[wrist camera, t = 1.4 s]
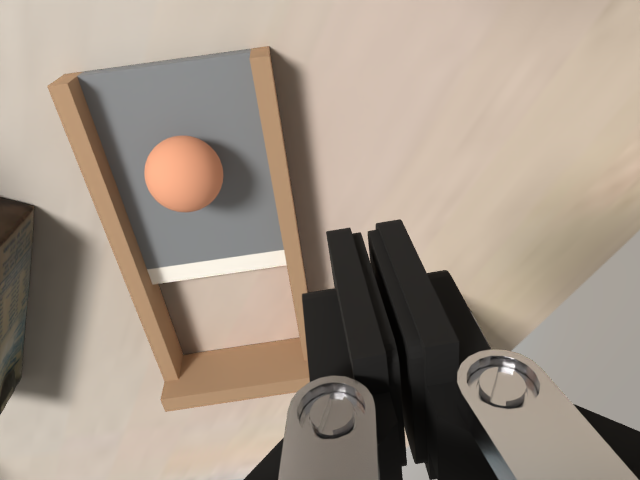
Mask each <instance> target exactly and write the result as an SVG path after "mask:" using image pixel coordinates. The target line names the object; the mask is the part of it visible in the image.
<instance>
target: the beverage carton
mask: <svg viewBox="0 0 640 480" xmlns="http://www.w3.org/2000/svg"><path fill="white" fill-rule="evenodd" d="M34 208H35V207H34V206H32V205H28V204H24V203H20V202H17V201H13V200H8V199H3V198H0V414H1V413H2V411H3V409H4V408H5V406H6V404H7V402H8V400H9V399H10V397H11V395H12V394H13V392H14V390H15V387H16V386H17V384H18V383H19V381H20V379H21V372H22V359H23V347H24V338H25V324H26V312H27V302H28V292H29V279H30V268H31V253H32V238H33V225H34V224H33V215H34Z"/></svg>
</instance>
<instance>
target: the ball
mask: <svg viewBox="0 0 640 480" xmlns="http://www.w3.org/2000/svg"><path fill="white" fill-rule="evenodd" d="M144 175H145V182H146V185H147V187H148V190H149V192H150V193H151V195H152V196H153V197H154V198H155V200H156V201H157V202H159V203H160V204H161V205H163V206H164V207H166V208H168V209H170V210H173V211H177V212H193V211H197V210H200V209H202V208H204V207H206V206H207V205H209V204H210V203H211V202H212V201H213V200H214V199H215V198H216V197H217V195H218V193H219V192H220V189H221V187H222V183H223V167H222V164H221V161H220V159H219V157H218V155H217V153H216V152H215V151H214V150H213V149H212V148H211V147H210V146H209V145H208V144H207V143H205V142H204V141H202V140H200V139H198V138H195V137H192V136H174V137H170V138H167V139H165V140H163V141H162V142H160V143H159V144H157V145H156V146H155V147H154V148H153V150H152V151H151V152H150V154H149V156H148V158H147V161H146V164H145V171H144Z"/></svg>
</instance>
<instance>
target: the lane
mask: <svg viewBox="0 0 640 480" xmlns="http://www.w3.org/2000/svg"><path fill="white" fill-rule="evenodd" d="M47 87H48V89H49V92H50V94H51V97H52V99H53V102H54V104H55V107H56V109H57V112H58V114H59V117H60V119H61V122H62V125H63V127H64V130H65V132H66V135H67V137H68V140H69V142H70V145H71V147H72V150H73V152H74V155H75V157H76V160H77V162H78V165H79V167H80V170H81V172H82V175H83V177H84V180H85V182H86V185H87V187H88V190H89V192H90V195H91V197H92V200H93V202H94V205H95V208H96V210H97V213H98V215H99V218H100V220H101V223H102V225H103V228H104V230H105V233H106V235H107V238H108V240H109V243H110V245H111V248H112V250H113V253H114V255H115V258H116V260H117V263H118V265H119V268H120V270H121V273H122V275H123V278H124V280H125V283H126V285H127V288H128V291H129V293H130V296H131V298H132V301H133V303H134V306H135V308H136V311H137V313H138V316H139V318H140V321H141V323H142V326H143V328H144V331H145V333H146V336H147V338H148V341H149V343H150V346H151V348H152V351H153V353H154V356H155V358H156V361H157V363H158V366H159V368H160V371H161V374H162V376H163V379H164V381H165V382H164V387H163V391H162V396H161V402H162V405H163V407H164V409H165V412H167V411H174V410H180V409H187V408H194V407H200V406H207V405H214V404H220V403H227V402H234V401H241V400H247V399H254V398H261V397H267V396H274V395H281V394H287V393H294V392H298V390H300V389H301V388H302V387H304V386H305V385H306V384H307V383H309V382H310V379H309V369H308V358H307V347H306V336H305V326H304V315H303V304H302V294H303V293H308V289H307V283H306V276H305V270H304V264H303V257H302V251H301V245H300V238H299V232H298V226H297V219H296V213H295V207H294V201H293V194H292V188H291V182H290V175H289V169H288V163H287V156H286V150H285V144H284V137H283V131H282V125H281V118H280V112H279V106H278V99H277V93H276V87H275V80H274V74H273V68H272V61H271V55H270V49H269V46H267V47H260V48H253V49H246V50H238V51H231V52H224V53H216V54H209V55H202V56H194V57H187V58H180V59H172V60H165V61H158V62H150V63H143V64H136V65H129V66H121V67H114V68H107V69H99V70H92V71H85V72H77V73H70V74H64V75H63V76H61V77H60V78H58V79H57V80H56V81H54V82H53V83H51V84H50V85H48V86H47ZM174 136H192V137H195V138H198V139H200V140H202V141H204V142H205V143H207V144H208V145H209V146H210V147H211V148H212V149H213V150H214V151H215V152H216V153H217V155H218V157H219V159H220V161H221V164H222V167H223V183H222V187H221V189H220V192H219V193H218V195H217V197H216V198H215V199H214V200H213V201H212V202H211V203H210V204H209V205H207V206H206V207H204V208H202V209H200V210H197V211H193V212H177V211H173V210H170V209H168V208H166V207H164V206H163V205H161V204H160V203H159V202H157V201H156V200H155V198H154V197H153V196H152V195H151V193H150V192H149V190H148V187H147V185H146V182H145V175H144V171H145V164H146V161H147V158H148V156H149V154H150V152H151V151H152V150H153V148H154V147H155V146H156V145H157V144H159V143H160V142H162V141H163V140H165V139H167V138H170V137H174ZM285 265H287V269H288V275H289V280H290V286H291V291H292V297H293V303H294V308H295V314H296V319H297V325H298V330H299V336H300V338H294V339H287V340H280V341H274V342H267V343H260V344H253V345H246V346H240V347H233V348H226V349H219V350H213V351H206V352H199V353H192V354H185V355H183V352H182V350H181V347H180V344H179V341H178V338H177V335H176V333H175V330H174V327H173V324H172V321H171V319H170V316H169V313H168V310H167V307H166V304H165V302H164V299H163V296H162V293H161V290H160V288H159V285H158V284H161V283H168V282H174V281H181V280H188V279H195V278H202V277H209V276H216V275H223V274H230V273H237V272H244V271H251V270H257V269H264V268H271V267H278V266H285Z"/></svg>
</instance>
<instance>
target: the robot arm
mask: <svg viewBox="0 0 640 480" xmlns="http://www.w3.org/2000/svg"><path fill="white" fill-rule="evenodd" d="M326 234H327V241H328V247H329V254H330V260H331V267H332V273H333V280H334V287H335V288H334V289H328V290H322V291H316V292H309V293H303V294H302V304H303V315H304V326H305V336H306V347H307V358H308V369H309V379H310V382H309V383H307V384H306V385H305V386H304V387H302V388H301V389H300V390H298V392H297V393H296V394H295V396H294V397H293V398H292V400H291V403H290V406H289V409H288V413H287V420H286V427H285V434H284V438H283V439H282V440H281V441H280V442H279V443H278V444H277V445H276V446H275V447H274V448H273V449H272V450H271V451H270V453H269V454H268V455H267V456H266V457H265V458H264V459H263V460H262V461H261V462H260V463H259V464H258V465H257V466H256V467H255V468H254V469H253V470H252V471H251V473H250V474H249V475H248V476H247V477H246V478H245V479H244V480H403V478H402V467H401V466H406V465H407V459H406V446H405V432H404V427H405V431H406V435H407V438H408V442H409V445H410V449H411V452H412V456H413V459H414V462H415V464H418V463H425V465H426V468H427V472H428V475H429V479H430V480H432V479H438V480H640V432H639V431H637V430H634V429H632V428H630V427H627V426H625V425H623V424H620V423H618V422H615V421H613V420H610V419H608V418H606V417H603V416H601V415H599V414H596V413H594V412H591V411H589V410H587V409H584V408H582V407H579V406H577V405H574V404H572V403H571V401H570V400H569V399H568V398H567V397H566V396H565V394H564V393H563V392H562V391H561V390H560V389H559V388H558V386H557V385H556V384H555V383H554V382H553V381H552V380H551V379H550V377H549V376H548V375H547V374H546V373H545V371H544V370H543V369H542V368H541V367H539V366H538V365H537V364H536V363H535V362H534V361H533V360H531V359H529V358H527V357H525V356H523V355H521V354H519V353H515V352H512V351H508V350H497V349H491V348H490V346H489V344H488V343H487V341H486V339H485V337H484V335H483V333H482V332H481V330H480V328H479V326H478V324H477V322H476V321H475V319H474V317H473V315H472V313H471V311H470V310H469V308H468V306H467V304H466V302H465V300H464V299H463V297H462V295H461V293H460V291H459V289H458V288H457V286H456V284H455V282H454V280H453V278H452V277H451V275H450V273H449V272H448V271H446V270H443V271H437V272H431V273H426V271H425V269H424V267H423V265H422V262H421V260H420V258H419V256H418V254H417V252H416V250H415V248H414V246H413V244H412V241H411V239H410V237H409V235H408V233H407V231H406V229H405V227H404V225H403V222H402V221H401V220H394V221H388V222H381V223H376V230H372V231H368V242H369V252H370V260H369V257H368V254H367V251H366V247H365V244H364V241H363V238H362V235H361V233H354V234H352V232H351V229H350V228H345V229H339V230H333V231H327V232H326ZM370 262H371V263H370Z"/></svg>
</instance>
